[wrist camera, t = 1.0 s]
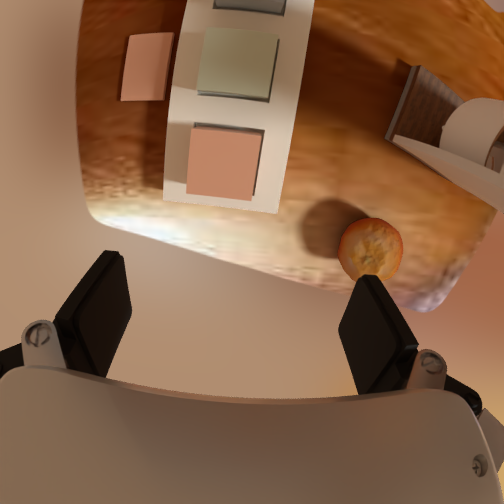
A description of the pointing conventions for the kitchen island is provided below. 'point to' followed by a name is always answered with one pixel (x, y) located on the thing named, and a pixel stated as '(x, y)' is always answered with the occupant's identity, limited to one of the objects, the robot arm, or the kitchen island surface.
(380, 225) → the fruit
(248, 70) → the key sage
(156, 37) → the tile
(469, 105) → the tiered shelf stand
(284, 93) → the keypad board
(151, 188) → the kitchen island surface
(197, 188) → the key terracotta
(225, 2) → the key slate blue
